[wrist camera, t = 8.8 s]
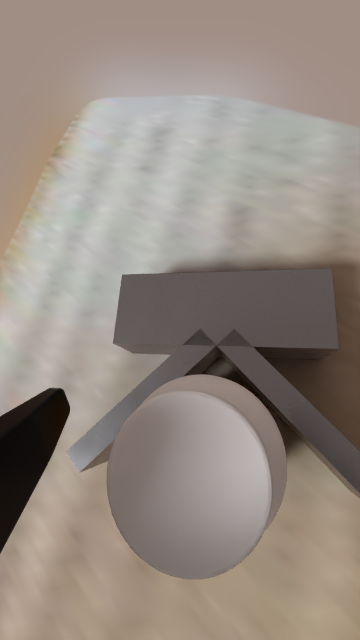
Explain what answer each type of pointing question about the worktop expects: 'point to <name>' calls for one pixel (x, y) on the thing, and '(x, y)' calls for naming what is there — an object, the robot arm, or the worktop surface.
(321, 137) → the worktop surface
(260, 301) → the v block
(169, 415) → the supplement bottle
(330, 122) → the worktop surface
